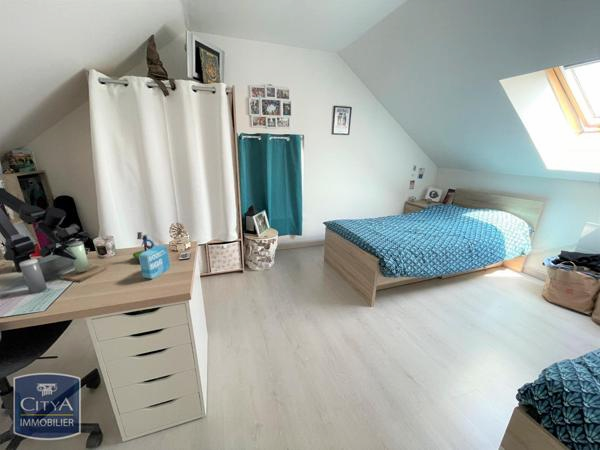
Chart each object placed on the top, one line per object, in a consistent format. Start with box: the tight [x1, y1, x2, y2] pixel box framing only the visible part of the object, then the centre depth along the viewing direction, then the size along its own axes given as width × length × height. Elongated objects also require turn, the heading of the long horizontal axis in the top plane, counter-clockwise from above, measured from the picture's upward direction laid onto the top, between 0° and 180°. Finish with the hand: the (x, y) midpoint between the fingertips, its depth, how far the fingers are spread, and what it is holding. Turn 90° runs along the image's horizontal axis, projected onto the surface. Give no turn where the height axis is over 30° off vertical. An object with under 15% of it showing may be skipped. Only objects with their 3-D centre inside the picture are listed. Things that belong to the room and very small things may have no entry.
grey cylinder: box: [19, 258, 48, 295], centre depth 99 cm, size 5×5×13 cm
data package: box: [138, 245, 171, 280], centre depth 114 cm, size 12×4×12 cm, turn 167°
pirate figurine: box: [132, 231, 155, 260], centre depth 128 cm, size 14×13×15 cm
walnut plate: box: [58, 264, 108, 283], centre depth 114 cm, size 12×12×1 cm
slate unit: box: [35, 246, 75, 282], centre depth 115 cm, size 9×20×8 cm, turn 167°
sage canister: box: [67, 241, 90, 272], centre depth 112 cm, size 5×5×13 cm
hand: (81, 256), depth 111 cm, fingers closed on sage canister, 5 cm apart
